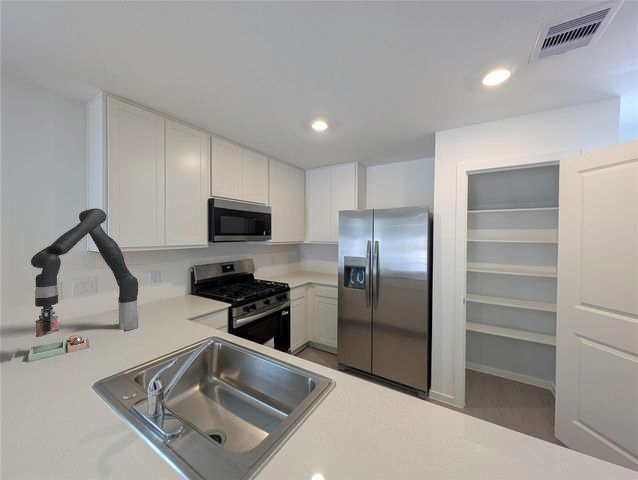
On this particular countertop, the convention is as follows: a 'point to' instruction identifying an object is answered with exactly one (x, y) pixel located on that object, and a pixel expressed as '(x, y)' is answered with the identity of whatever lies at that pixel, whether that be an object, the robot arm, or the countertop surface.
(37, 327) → the lighter
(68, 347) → the divided organizer tray
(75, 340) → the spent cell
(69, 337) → the button
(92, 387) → the countertop surface
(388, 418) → the countertop surface
